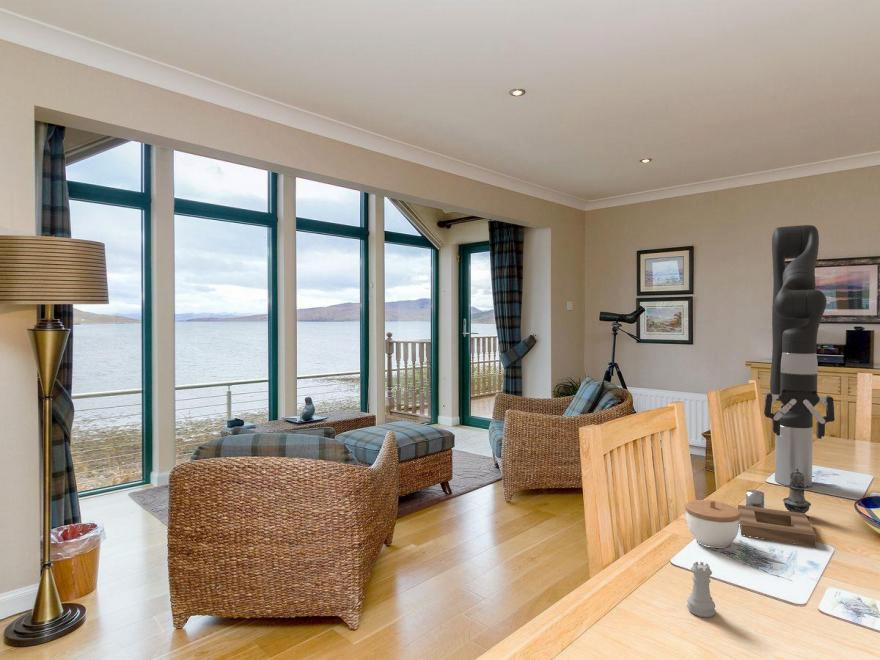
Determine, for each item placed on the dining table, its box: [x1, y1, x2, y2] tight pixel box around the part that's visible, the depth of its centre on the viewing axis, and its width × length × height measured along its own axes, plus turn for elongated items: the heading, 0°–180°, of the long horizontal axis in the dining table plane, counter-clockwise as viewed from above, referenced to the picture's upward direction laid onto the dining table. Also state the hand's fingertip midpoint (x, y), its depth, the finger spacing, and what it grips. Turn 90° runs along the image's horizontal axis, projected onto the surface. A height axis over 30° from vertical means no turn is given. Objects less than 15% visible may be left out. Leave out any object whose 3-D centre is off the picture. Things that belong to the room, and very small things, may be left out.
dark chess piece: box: [782, 468, 812, 521], centre depth 133 cm, size 6×6×12 cm
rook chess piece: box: [686, 561, 716, 618], centre depth 91 cm, size 4×4×8 cm
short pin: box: [745, 489, 765, 508], centre depth 136 cm, size 4×4×5 cm
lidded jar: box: [685, 499, 740, 549], centre depth 118 cm, size 11×11×9 cm
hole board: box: [737, 504, 817, 548], centre depth 125 cm, size 14×14×2 cm
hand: (797, 436), depth 132 cm, fingers open, 8 cm apart
